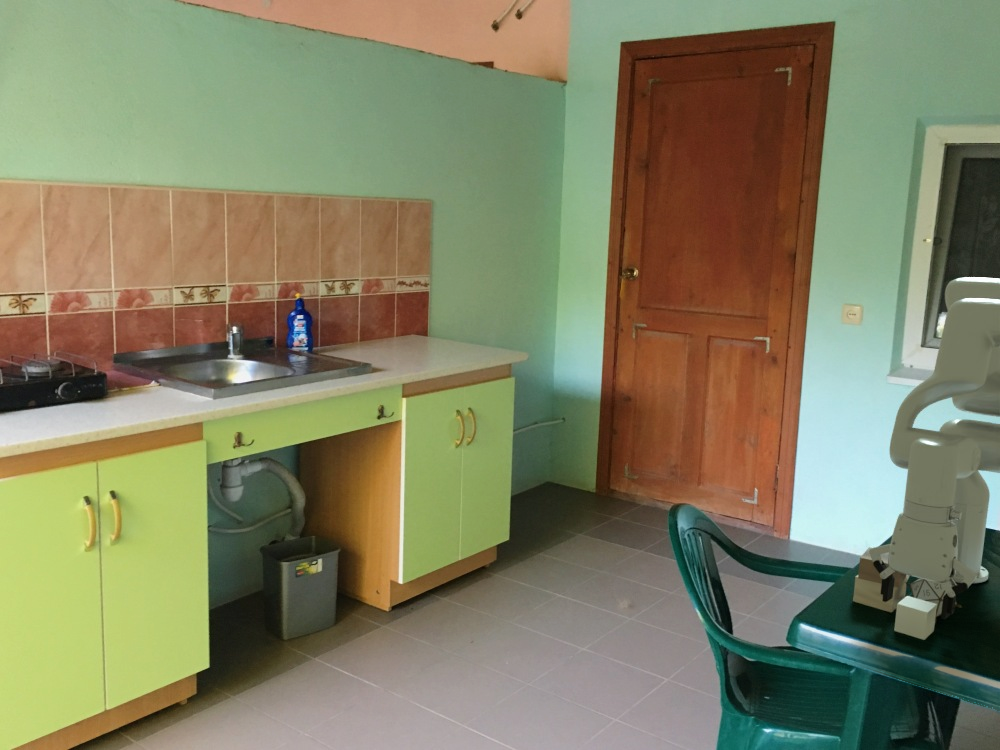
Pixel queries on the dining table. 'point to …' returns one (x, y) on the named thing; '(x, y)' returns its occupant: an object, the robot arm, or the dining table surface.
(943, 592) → the game die
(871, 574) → the walnut block
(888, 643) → the dining table surface
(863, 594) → the oak block
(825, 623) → the dining table surface
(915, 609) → the ivory cube
